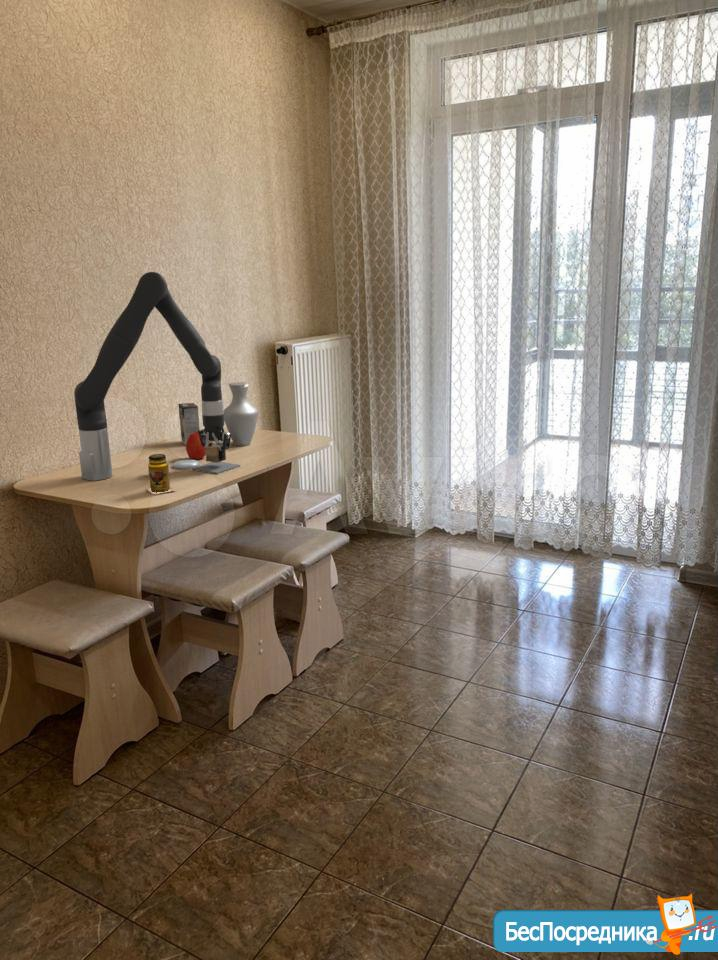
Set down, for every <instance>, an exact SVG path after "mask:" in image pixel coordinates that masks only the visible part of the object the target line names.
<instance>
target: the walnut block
mask: <svg viewBox="0 0 718 960" xmlns="http://www.w3.org/2000/svg"><path fill="white" fill-rule="evenodd" d="M221 447H222V445H221ZM205 451H206V455H205V460H206V462H208V463H211V462H214V463H218V462H225V461H226V460H227V449H225V460H223V461H220V460H219V449H218V446H217V445H216V444H213V445H212V446H209V447H206V448H205Z"/></svg>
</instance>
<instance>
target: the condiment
mask: <svg viewBox="0 0 718 960" xmlns="http://www.w3.org/2000/svg"><path fill="white" fill-rule="evenodd" d="M166 460H167V456H166V454H164V453H154V454H150V455H149V456H148V463H150V464H149V465H147V466H148V477H149V479H148V480H149V486H150V488H151V491H152V492H156V493H157V492H165V491H168V490H169V489H170V488H171V486H170V472H169V473H168V464H169V463H168V464H167V462H166ZM150 488H149V489H150Z"/></svg>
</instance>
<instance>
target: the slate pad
mask: <svg viewBox="0 0 718 960" xmlns="http://www.w3.org/2000/svg"><path fill="white" fill-rule="evenodd" d="M237 467H238V468H241V465H240V464H237V463H230V462H225V461H221V462H218V463H214V462H208V463H205V464H201V465H199V466H198V467H195V468H191V469H192V471H196V470H198V471H197V472H201V471H204V472H203V473H207V472H210V473H209V474H213V473H216V474H215V475H220V474H223V473H225V471H226V472H229V471H231V469H232V470H235V469H237ZM234 468H235V469H234ZM228 470H229V471H228ZM222 472H223V473H222ZM219 473H220V474H219Z"/></svg>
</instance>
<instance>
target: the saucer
mask: <svg viewBox="0 0 718 960" xmlns="http://www.w3.org/2000/svg"><path fill="white" fill-rule="evenodd" d="M199 463H200V462H199V460H198V459H195V460H193V459H180V460H176V461H174V462H173V468H174V469H177V470H189V469H190V468H191V469H192V468H195V467H198V466H200V464H199Z"/></svg>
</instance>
